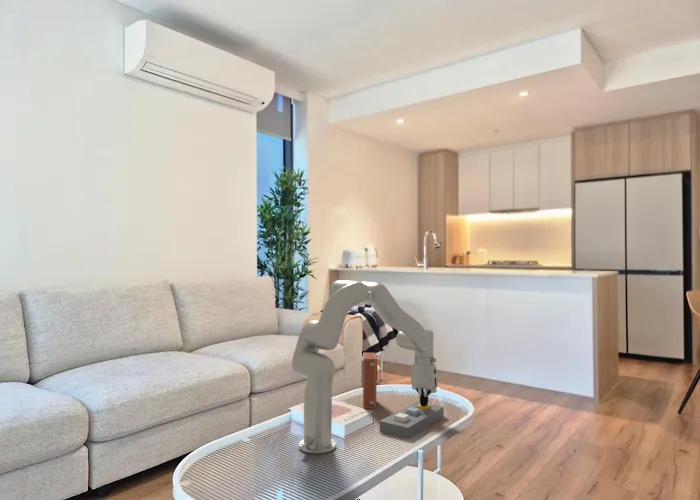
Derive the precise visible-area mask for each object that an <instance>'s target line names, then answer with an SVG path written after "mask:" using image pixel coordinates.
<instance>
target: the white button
mask: <svg viewBox="0 0 700 500" xmlns="http://www.w3.org/2000/svg"><path fill="white" fill-rule="evenodd" d="M394 421H398V422H402V423H405V422H407V421H409V415H407V414H403V413H398V414H397V415H395V416H394Z"/></svg>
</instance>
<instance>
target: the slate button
mask: <svg viewBox="0 0 700 500" xmlns="http://www.w3.org/2000/svg"><path fill="white" fill-rule="evenodd" d="M406 414H407V415H411V416H418V415H419V414H420V409H419V408H414V407H410V408H408V409H406Z"/></svg>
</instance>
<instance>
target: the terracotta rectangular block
mask: <svg viewBox="0 0 700 500" xmlns="http://www.w3.org/2000/svg"><path fill="white" fill-rule="evenodd" d="M360 361H361V366H360V367H361V375H360V378H361V381H360V382H361V383H362V408H363V409H376V407H377V392H378V391H377V387H378V386H377V383H378V382H377V381H378V358H377V357H376V352H363V353H362V356H361V360H360Z"/></svg>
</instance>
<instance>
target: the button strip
mask: <svg viewBox="0 0 700 500" xmlns="http://www.w3.org/2000/svg"><path fill="white" fill-rule="evenodd" d="M419 404H420V401H416V402H413V403H411V404H410V405H408V406H406V407H403V408H402V409H399V410H398V411H396V412H395V413H392V414H390V415H389V416H386V417H385V418H382V419H380V420H379V432H380V433H384V434H386V435H391V436H395V437H399V438H403V439H406V438H407V440H409V439H411V438H412V437H414V436H415V435H417V434H419V433H420V432H421V431H423V430H425V429H427V428H428V427H430V426H431V425H433V424H434V423H436V422H437V421H440V420H441V419H442V418H443V417H444V416H445V415H444V414H445V413H444V409H445V408H444V406H441V405H435V404H432V403H428V404H427V405H430V409H428V410H422V409H420V414H419V415H418V416H411V415H409V421H407V422H405V423H402V422H398V421H394V416H395V415H397V414H398V413H403V414H406V409H408V408H410V407H414V408H417V406H418V405H419ZM410 437H411V438H410Z"/></svg>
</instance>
